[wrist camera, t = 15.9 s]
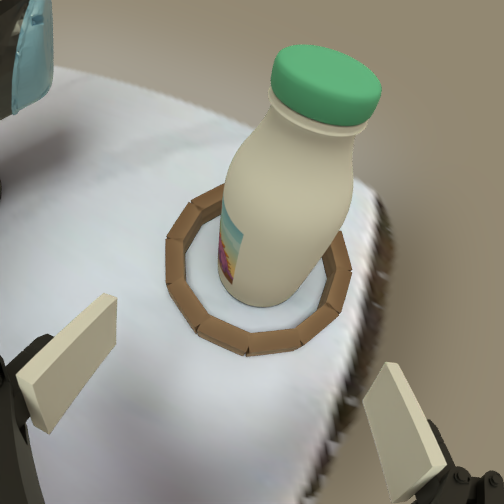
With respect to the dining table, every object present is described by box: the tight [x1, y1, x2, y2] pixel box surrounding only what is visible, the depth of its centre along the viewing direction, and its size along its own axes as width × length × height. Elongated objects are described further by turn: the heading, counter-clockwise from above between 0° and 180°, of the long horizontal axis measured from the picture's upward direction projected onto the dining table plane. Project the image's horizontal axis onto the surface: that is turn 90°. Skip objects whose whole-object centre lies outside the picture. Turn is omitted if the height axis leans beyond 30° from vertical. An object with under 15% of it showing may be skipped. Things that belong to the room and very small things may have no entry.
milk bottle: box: [218, 45, 382, 307], centre depth 19 cm, size 8×8×20 cm
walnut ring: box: [165, 183, 352, 357], centre depth 27 cm, size 16×16×2 cm
